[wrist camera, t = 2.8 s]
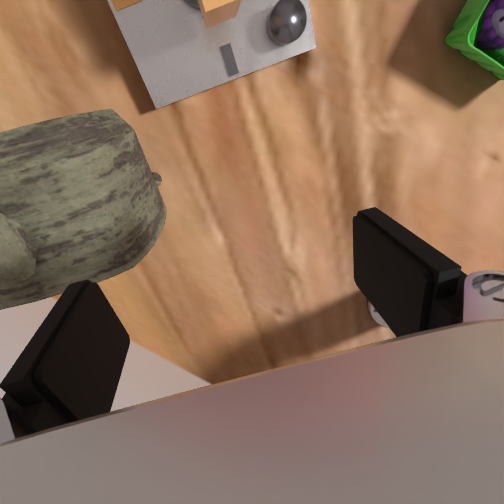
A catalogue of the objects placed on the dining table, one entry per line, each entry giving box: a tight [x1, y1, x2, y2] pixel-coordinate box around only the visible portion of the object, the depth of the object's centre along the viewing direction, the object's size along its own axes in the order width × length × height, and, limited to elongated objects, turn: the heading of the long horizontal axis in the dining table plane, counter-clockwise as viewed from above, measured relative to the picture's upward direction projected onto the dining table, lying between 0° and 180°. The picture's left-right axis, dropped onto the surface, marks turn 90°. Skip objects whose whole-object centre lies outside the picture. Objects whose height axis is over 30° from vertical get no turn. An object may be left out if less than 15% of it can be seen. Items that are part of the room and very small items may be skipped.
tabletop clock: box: [0, 109, 167, 310], centre depth 20 cm, size 14×9×25 cm, turn 103°
